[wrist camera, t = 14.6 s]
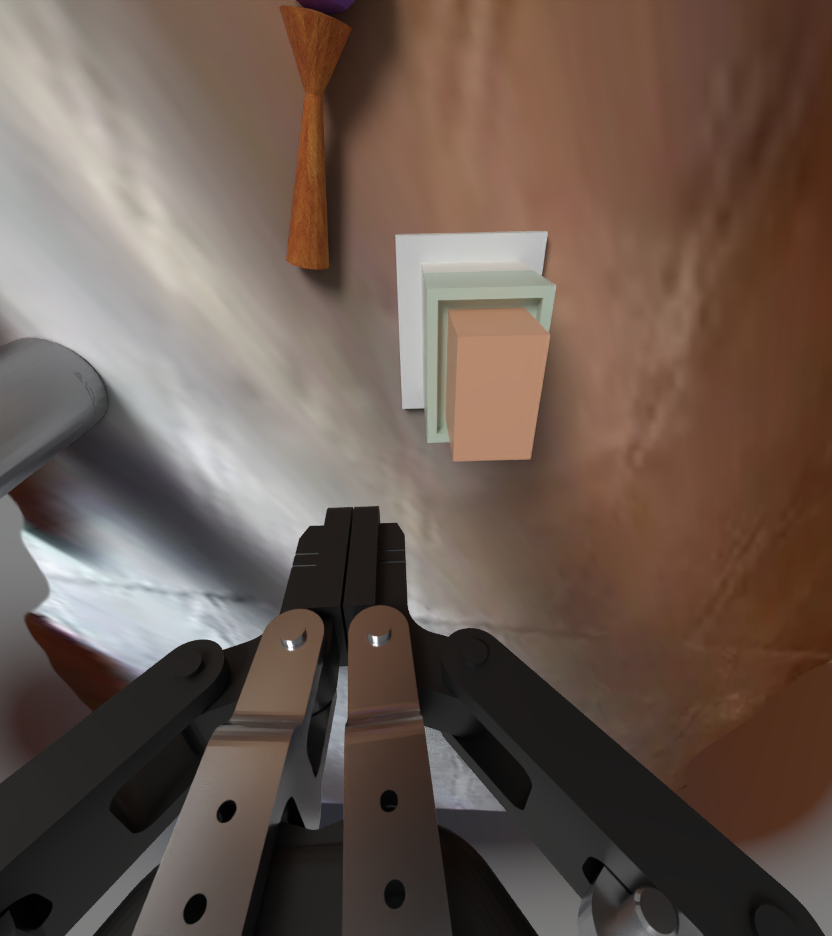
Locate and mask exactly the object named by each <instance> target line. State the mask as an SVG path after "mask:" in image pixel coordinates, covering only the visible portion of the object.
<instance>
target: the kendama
mask: <svg viewBox="0 0 832 936" xmlns="http://www.w3.org/2000/svg"><path fill="white" fill-rule="evenodd" d="M297 1H298V2H299V3H300V4H301V5H302V6H303V7H305V8H301V7H293V6H280V7H279V8H280V11H281V14H282V18H283V21H284V24H285V27H286V31H287V34H288V37H289V41H290V44H291V47H292V51H293V54H294V57H295V61H296V64H297V67H298V70H299V74H300V77H301V80H302V84H303V87H304V90H305V98H304V107H303V116H302V125H301V133H300V142H299V151H298V160H297V169H296V177H295V186H294V195H293V204H292V212H291V221H290V230H289V239H288V247H287V256H286V260H287V262H288V263H290V264H292V265H295V266H298V267H301V268H306V269H315V270H321V269H327V268H328V267H329V248H328V223H327V198H326V174H325V149H324V124H323V100H322V97H323V94H324V92H325V90H326V88H327V85H328V83H329V81H330V78H331V76H332V74H333V72H334V69H335V67H336V65H337V62H338V60H339V58H340V56H341V53H342V51H343V49H344V46H345V44H346V42H347V40H348V37H349V35H350V33H351V30H352V29H351V27H350V26H348V25H346V24H345V23H343V22H341V21H339V20H337V19H335V18H333V17H331V16H329V15H330V14H334V13H338V12H342V11H345V10H347V9H348V8H349V7H350V6H351V5H352V4H353V3H354V2H355V1H356V0H297Z"/></svg>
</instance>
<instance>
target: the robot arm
mask: <svg viewBox="0 0 832 936" xmlns="http://www.w3.org/2000/svg"><path fill="white" fill-rule="evenodd" d="M107 404H108V401H107V393H106V391H105V388H104V385H103V383H102V381H101V380H100V378H99V376H98V375H97V373H96V372H95V371H94V370H93V369H92V367H91V366H90V365H89V364H88V363H87V362H86V361H84V360H83V359H82V358H81V357H80V356H78V355H77V354H75V353H74V352H73V351H71V350H69V349H67V348H66V347H64V346H62V345H60V344H57V343H54V342H51V341H48V340H44V339H38V338H23V339H19V340H16V341H13V342H10V343H8V344H5V345H3V346H0V498H2V497H3V496H4V495H6V494H7V493H8V492H9V491H11V490H12V489H13V488H15V487H16V486H17V485H18V484H20V483H21V482H22V481H24V480H25V479H26V478H27V477H29V476H30V475H31V474H32V473H34V472H35V471H36V470H38V469H39V468H40V467H41V466H43V465H44V464H45V463H47V462H48V461H49V460H50V459H52V458H53V457H54V456H56V455H57V454H58V453H59V452H61V451H62V450H63V449H64V448H66V447H67V446H68V445H70V444H71V443H72V442H74V441H75V440H76V439H77V438H79V437H80V436H81V435H83V434H84V433H85V432H86V431H88V430H89V429H90V428H91V427H93V426H94V425H95V424H97V423H98V422H99V421H100V420H101V419H102V418H103V416H104V414H105V413H106V410H107ZM339 666H348V719H347V723H346V726H345V743H344V820H341V821H339V822H336V823H334V824H331V825H329V826H326V827H323V828H321V829H319V822H320V813H321V786H322V778H323V772H324V766H325V761H326V755H327V749H328V744H329V738H330V733H331V727H332V721H333V716H334V710H335V705H336V699H337V691H336V688H337V681H338V672H339ZM424 726H427V727H430V728H433V729H436V730H439V731H441V733H442V735H443V737H444V738H445V739H446V741H447V742H448V743H449V744H450V745H451V746H452V748H453V749H454V750H455V751H456V752H457V753H458V755H459V756H460V757H461V758H462V759H463V760H464V762H465V763H466V764H467V765H468V766H469V767H470V769H471V770H472V771H473V772H474V773H475V774H476V776H477V777H478V778H479V779H480V780H481V782H482V783H483V784H484V785H485V786H486V787H487V789H488V790H489V791H490V792H491V793H492V794H493V796H494V797H495V798H496V799H497V800H498V801H499V803H500V804H501V805H502V806H503V807H504V808H505V810H506V811H507V812H508V813H509V814H510V815H511V817H512V818H513V819H514V820H515V821H516V822H517V823H518V825H519V826H520V827H521V828H522V830H523V831H524V832H525V833H526V834H527V835H528V837H529V838H530V839H531V840H532V841H533V842H534V843H535V845H536V846H537V847H538V848H539V849H540V851H541V852H542V853H543V854H544V855H545V856H546V858H547V859H548V860H549V861H550V862H551V863H552V865H553V866H554V867H555V868H556V869H557V870H558V872H559V873H560V874H561V875H562V876H563V877H564V879H565V880H566V881H567V882H568V883H569V885H570V886H571V887H572V888H573V889H574V890H575V892H576V893H577V894H578V895H579V896H580V897H581V899H582V900H581V902H580V906H579V911H578V932H579V936H825V935H824V933H823V932H822V930H821V929H820V927H819V926H818V924H817V923H816V921H815V920H814V919H813V917H812V916H811V915H810V913H809V912H808V911H807V909H806V908H805V907H804V906H803V905H802V904H801V903H800V902H799V901H798V900H797V899H796V898H795V897H794V896H793V895H792V894H791V893H790V892H789V891H788V890H787V889H785V888H784V887H783V886H782V885H781V884H780V883H778V882H777V881H776V880H775V879H774V878H773V877H772V876H770V875H769V874H768V873H767V872H766V871H764V870H763V869H762V868H761V867H760V866H759V865H758V864H756V863H755V862H754V861H753V860H752V859H751V858H750V857H748V856H747V855H746V854H745V853H744V852H743V851H741V850H740V849H739V848H738V847H737V846H736V845H734V844H733V843H732V842H731V841H730V840H729V839H728V838H726V837H725V836H724V835H723V834H722V833H721V832H719V831H718V830H717V829H716V828H715V827H713V826H712V825H711V824H710V823H709V822H708V821H707V820H705V819H704V818H703V817H702V816H701V815H700V814H699V813H697V812H696V811H695V810H694V809H693V808H691V807H690V806H689V805H688V804H687V803H686V802H684V801H683V800H682V799H681V798H680V797H679V796H677V794H675V793H674V792H673V791H672V790H671V789H670V788H668V787H667V786H666V785H665V784H664V783H663V782H661V781H660V780H659V779H658V778H657V777H656V776H655V775H653V774H652V773H651V772H650V771H649V770H648V769H646V768H645V767H644V766H643V765H642V764H641V763H639V762H638V761H637V760H636V759H635V758H634V757H632V756H631V755H630V754H629V753H628V752H627V751H626V750H624V749H623V748H622V747H621V746H620V745H619V744H617V743H616V742H615V741H614V740H613V739H612V738H610V737H609V736H608V735H607V734H606V733H605V732H604V731H602V730H601V729H600V728H599V727H598V726H597V725H595V724H594V723H593V722H592V721H591V720H590V719H588V718H587V717H586V716H585V715H584V714H583V713H582V712H580V711H579V710H578V709H577V708H576V707H575V706H573V705H572V704H571V703H570V702H569V701H568V700H566V699H565V698H564V697H563V696H562V695H561V694H559V693H558V692H557V691H556V690H555V689H554V688H553V687H551V686H550V685H549V684H548V683H547V682H546V681H544V680H543V679H542V678H541V677H540V676H539V675H537V674H536V673H535V672H534V671H533V670H532V669H531V668H529V667H528V666H527V665H526V664H525V663H524V662H522V661H521V660H520V659H519V658H518V657H517V656H515V655H514V654H513V653H512V652H511V651H510V650H509V649H507V648H506V647H505V646H504V645H503V644H502V643H500V642H499V641H498V640H497V639H496V638H495V637H493V636H492V635H491V634H489V633H487V632H485V631H483V630H480V629H475V628H466V629H461V630H458V631H456V632H454V633H453V634H451V635H450V636H449V637H447V636H443V635H440V634H436V633H432V632H429V631H427V630H425V629H423V628H422V627H420V626H419V625H418V624H417V623H416V622H415V621H414V620H413V619H412V617H411V615H410V614H409V610H408V605H407V582H406V559H405V536H404V533H403V532H402V530H401V529H400V527H399V525H398V524H397V523H380V511H379V506H368V507H354V509H353V507H342V508H328V509H327V513H326V518H325V523H324V526H309V528H308V529H307V530H306V531H305V532H304V534H303V535H302V536H301V537H300V538H299V542H298V546H297V550H296V556H295V557H294V561H293V568H292V569H291V573H290V577H289V581H288V584H287V588H286V592H285V596H284V600H283V604H282V608H281V611H280V614H279V616H277V617H276V618H274V619H273V620H272V621H271V622H270V623H269V624H268V626H267V627H266V629H265V631H264V633H263V634H262V635H260V636H259V637H257V638H255V639H253V640H251V641H248V642H245V643H242V644H239V645H236V646H233V647H230V648H227V649H224V650H222V648H221V647H220V646H219V644H217V643H216V642H214V641H211V640H194V641H191V642H188V643H185V644H183V645H181V646H179V647H177V648H176V649H174V650H173V651H171V652H170V653H169V654H167V655H166V656H165V657H164V658H162V659H161V660H160V661H158V662H157V663H156V664H155V665H153V666H152V667H151V668H149V669H148V670H147V671H145V672H144V673H143V674H142V675H140V676H139V677H138V678H136V679H135V680H134V681H133V682H131V683H130V684H129V685H127V686H126V687H125V688H123V689H122V690H121V691H120V692H118V693H117V694H116V695H114V696H113V697H112V698H111V699H109V700H108V701H107V702H105V703H104V704H103V705H101V706H100V707H99V708H98V709H96V710H95V711H94V712H92V713H91V714H90V715H89V716H87V717H86V718H85V719H83V720H82V721H81V722H79V723H78V724H77V725H76V726H74V727H73V728H72V729H70V730H69V731H68V732H66V733H65V734H64V735H63V736H61V737H60V738H59V739H58V740H56V741H55V742H54V743H52V744H51V745H50V746H48V747H47V748H46V749H44V750H43V751H42V752H41V753H40V754H38V755H37V756H35V757H34V758H33V759H31V760H30V761H29V762H28V763H26V764H25V765H24V766H22V767H21V768H20V769H19V770H17V771H16V772H15V773H13V774H12V775H11V776H9V777H8V778H7V779H6V780H4V781H3V782H2V783H1V784H0V936H65V935H66V934H67V933H68V931H69V930H70V929H71V928H72V927H73V926H74V925H75V924H76V923H77V922H78V921H79V920H80V919H81V918H82V917H83V915H84V914H85V913H86V912H87V911H88V910H89V909H90V908H91V907H92V906H93V905H94V904H95V903H96V902H97V901H98V900H99V899H100V898H101V897H102V896H103V895H104V893H105V892H106V891H107V890H108V889H109V888H110V887H111V886H112V885H113V884H114V883H115V882H116V881H117V880H118V879H119V877H121V875H122V874H123V873H124V872H125V871H126V870H127V869H128V868H129V867H130V866H131V865H132V864H133V863H134V862H135V861H136V860H137V859H138V857H139V856H140V855H141V854H142V853H143V852H144V851H145V850H146V849H147V848H148V847H149V846H150V845H151V844H152V843H153V842H154V841H155V840H156V838H157V837H158V836H159V835H160V834H161V833H162V832H163V831H164V830H165V829H166V828H167V827H168V826H169V825H170V824H171V823H172V821H173V820H174V819H175V818H176V817H177V816H178V815H179V814H180V815H179V818H178V820H177V823H176V825H175V828H174V830H173V833H172V835H171V838H170V840H169V843H168V846H167V848H166V851H165V853H164V855H163V858H162V861H161V863H160V864H159V865H158V866H156V867H155V868H154V869H153V870H152V871H151V872H150V873H149V874H148V875H147V876H146V877H145V878H144V879H142V880H141V882H139V884H138V885H137V886H136V887H135V888H134V889H133V890H132V891H131V892H130V893H129V894H128V896H127V897H126V898H125V899H124V900H123V901H122V903H121V904H120V905H119V906H118V907H117V908H116V909H115V911H114V912H113V913H112V914H111V915H110V916H109V917H108V919H107V920H106V921H105V922H104V923H103V925H102V926H101V927H100V928H99V929H98V930H97V931H96V933H95V934H94V935H93V936H538V934H537V933H536V931H535V930H534V929H533V927H532V926H531V924H530V923H529V922H528V920H527V919H526V917H525V916H524V915H523V914H522V912H521V910H520V909H519V908H518V906H517V905H516V903H515V902H514V900H513V899H512V898H511V896H510V895H509V894H508V892H507V891H506V889H505V888H504V886H503V885H502V884H501V882H500V881H499V879H498V878H497V877H496V875H495V874H494V872H493V871H492V869H491V868H490V867H489V865H488V864H487V863H486V862H485V860H484V859H483V858H482V857H481V855H480V854H479V853H478V852H477V851H476V850H475V849H474V848H473V847H472V846H471V845H470V844H469V843H468V842H466V841H465V840H464V839H463V838H462V837H460V836H459V835H457V834H456V833H454V832H453V831H451V830H450V829H448V828H446V827H444V826H441V825H439V824H437V818H436V810H435V803H434V795H433V788H432V780H431V773H430V766H429V758H428V751H427V744H426V736H425V729H424Z"/></svg>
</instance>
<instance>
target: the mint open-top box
mask: <svg viewBox="0 0 832 936" xmlns="http://www.w3.org/2000/svg"><path fill="white" fill-rule="evenodd" d="M547 234H548V232H546V231H515V232H473V233H431V234H396V235H395V237H396V262H397V287H398V311H399V336H400V361H401V386H402V409H416V408H424V411H425V422H426V433H427V443H433V442H450V441H449V435H448V430H447V424H446V419H445V417H446V376H447V334H448V309H476V308H518V307H524V308H525V309H526V310H527V311H528V312H529V313H530V314H531V315H532V316H533V317H534V318H535V319H536V320H537V321H538V322H539V323H540V324H541V325H542V326H543V327H544V328H545V329H546V330H547V331H548V333H549V329H550V322H551V316H552V310H553V303H554V297H555V291H556V285H555V284H553V283H552V282H550V281H549V280H547V279H546V278H544V277H543V276H542V271H543V264H544V256H545V249H546V242H547Z"/></svg>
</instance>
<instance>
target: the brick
mask: <svg viewBox="0 0 832 936" xmlns="http://www.w3.org/2000/svg"><path fill="white" fill-rule="evenodd" d="M549 341H550V334H549V333H548V331H547V330H546V329H545V328H544V327H543V326H542V325H541V324H540V323H539V322H538V321H537V320H536V319H535V318H534V317H533V316H532V315H531V314H530V313H529V312H528V311H527V310H526V309H525V308H524V307H518V308H476V309H448V334H447V376H446V417H445V419H446V424H447V430H448V435H449V441H450V447H451V452H452V458H453V461H487V460H523V459H531V453H532V447H533V441H534V434H535V428H536V422H537V416H538V410H539V403H540V397H541V391H542V385H543V378H544V372H545V366H546V360H547V353H548V347H549Z"/></svg>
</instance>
